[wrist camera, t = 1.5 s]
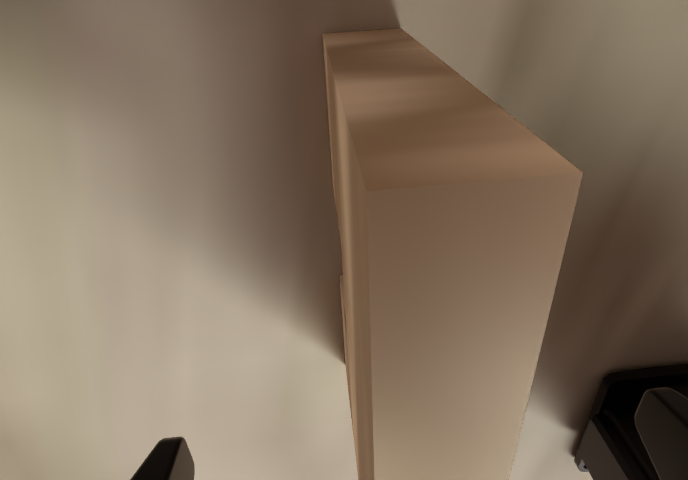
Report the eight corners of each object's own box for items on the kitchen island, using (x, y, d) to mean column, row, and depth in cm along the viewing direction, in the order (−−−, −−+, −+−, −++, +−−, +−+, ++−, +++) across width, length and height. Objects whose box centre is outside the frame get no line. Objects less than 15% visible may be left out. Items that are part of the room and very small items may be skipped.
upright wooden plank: (401, 28, 12) (582, 173, 4) (396, 360, 18) (466, 655, 11) (322, 33, 12) (366, 190, 4) (345, 365, 18) (379, 665, 11)
